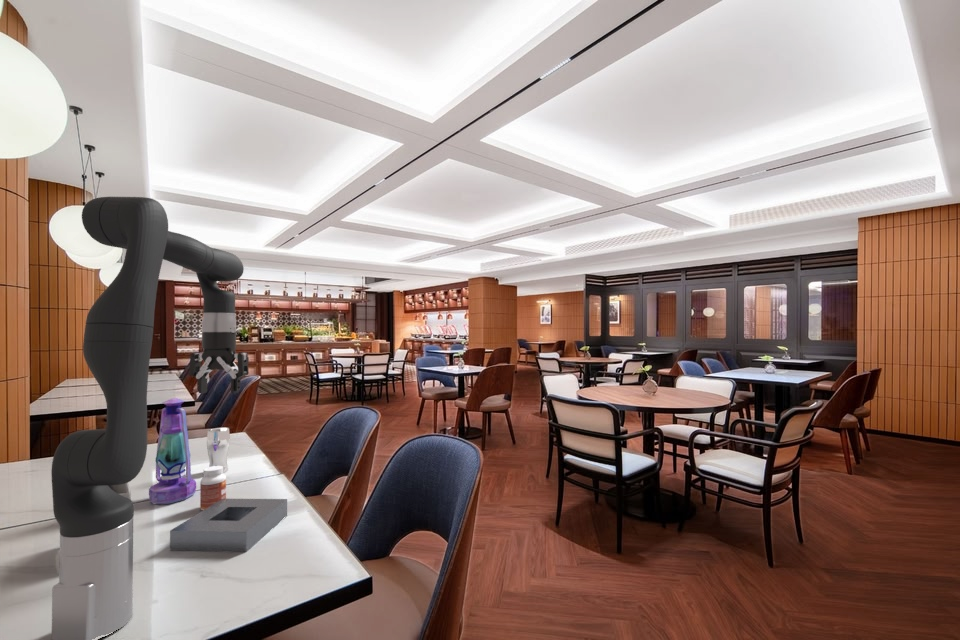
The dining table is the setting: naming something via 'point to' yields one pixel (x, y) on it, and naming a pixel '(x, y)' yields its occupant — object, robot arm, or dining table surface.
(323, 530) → the dining table surface
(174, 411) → the lantern
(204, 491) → the pill bottle
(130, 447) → the robot arm
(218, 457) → the beer glass
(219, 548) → the bore housing
